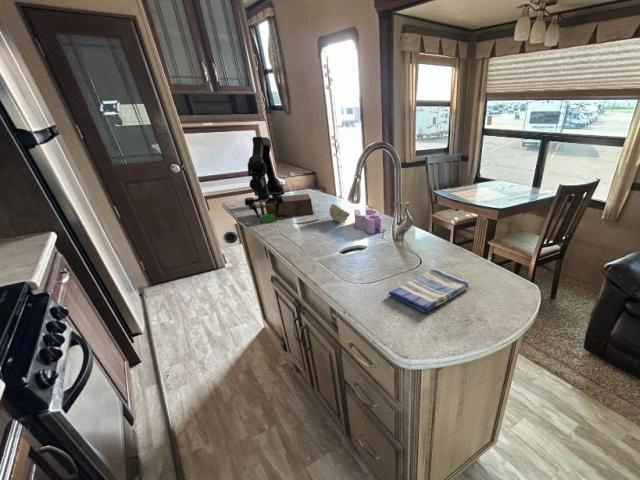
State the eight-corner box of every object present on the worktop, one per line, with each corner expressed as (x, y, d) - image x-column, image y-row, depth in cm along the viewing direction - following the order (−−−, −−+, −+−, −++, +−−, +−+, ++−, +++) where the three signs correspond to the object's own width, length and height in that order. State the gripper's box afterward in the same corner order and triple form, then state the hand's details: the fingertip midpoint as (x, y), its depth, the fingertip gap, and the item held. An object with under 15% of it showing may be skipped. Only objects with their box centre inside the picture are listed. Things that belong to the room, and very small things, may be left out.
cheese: (332, 220, 181) (319, 209, 167) (339, 209, 181) (327, 197, 167) (352, 233, 177) (341, 223, 163) (360, 222, 177) (349, 211, 162)
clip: (388, 230, 161) (388, 217, 158) (366, 235, 156) (365, 221, 153) (372, 219, 176) (371, 207, 172) (351, 223, 171) (349, 210, 167)
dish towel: (470, 288, 112) (471, 281, 111) (426, 315, 98) (427, 308, 96) (432, 272, 122) (432, 265, 121) (387, 295, 108) (387, 288, 107)
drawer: (251, 218, 175) (248, 206, 172) (251, 212, 184) (248, 200, 181) (289, 214, 181) (287, 202, 178) (288, 209, 190) (286, 197, 187)
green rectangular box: (275, 221, 174) (274, 215, 172) (262, 223, 172) (261, 217, 170) (275, 219, 177) (273, 213, 175) (262, 220, 175) (261, 214, 173)
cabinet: (285, 217, 180) (282, 201, 176) (283, 210, 190) (280, 196, 186) (313, 214, 185) (311, 199, 180) (310, 208, 195) (308, 193, 190)
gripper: (279, 181, 174) (285, 210, 182) (242, 184, 168) (249, 214, 177) (280, 186, 165) (286, 216, 173) (241, 189, 160) (249, 220, 168)
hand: (268, 216), depth 173 cm, fingers open, 9 cm apart
